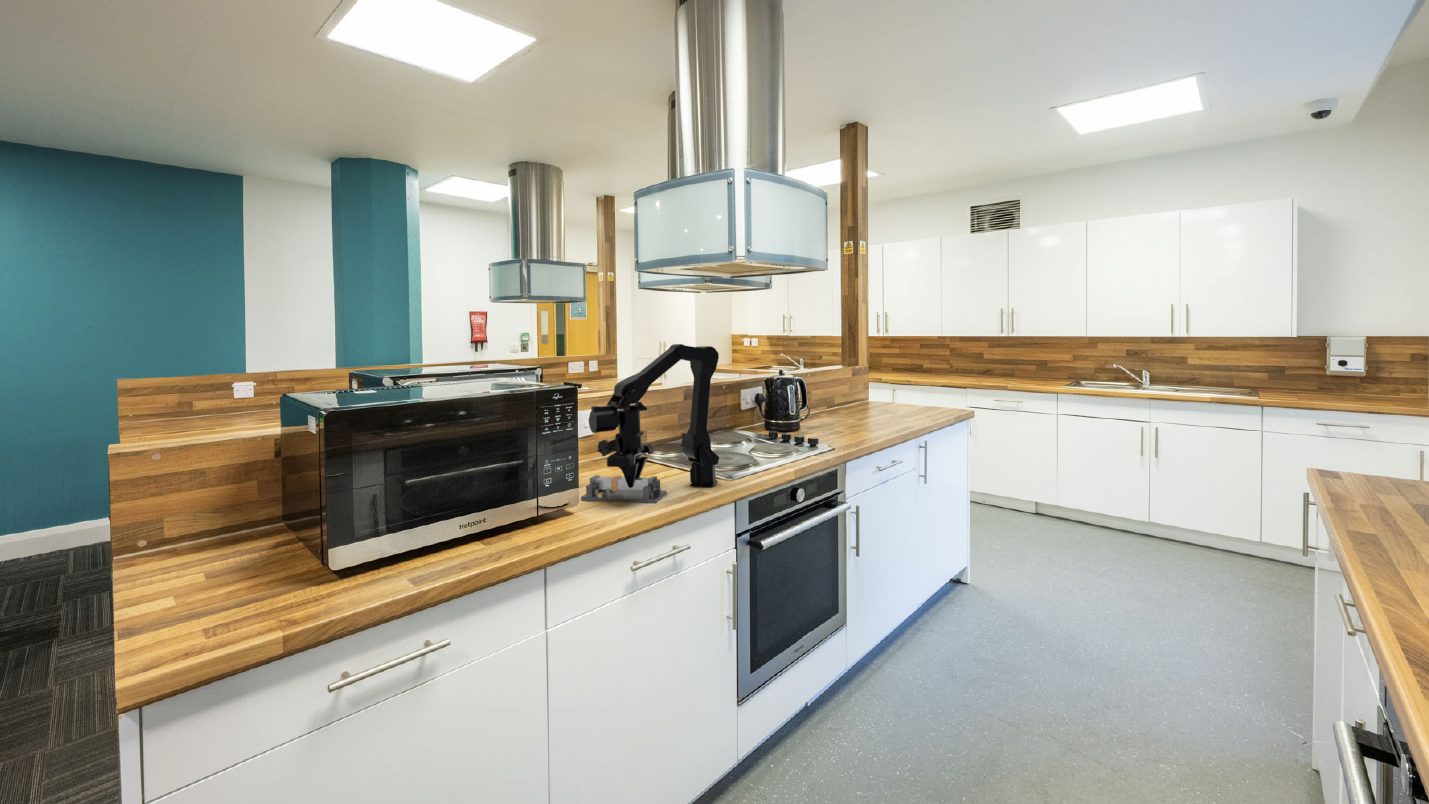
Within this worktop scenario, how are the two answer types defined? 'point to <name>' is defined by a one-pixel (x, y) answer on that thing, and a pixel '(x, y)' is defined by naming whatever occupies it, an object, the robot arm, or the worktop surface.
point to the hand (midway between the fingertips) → (632, 486)
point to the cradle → (624, 494)
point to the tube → (623, 483)
